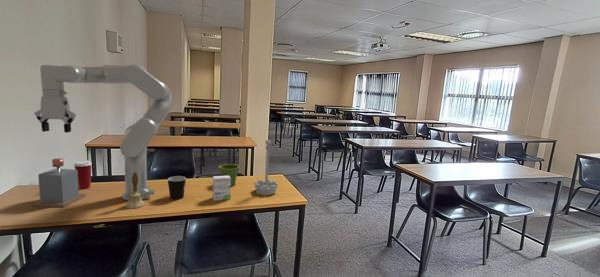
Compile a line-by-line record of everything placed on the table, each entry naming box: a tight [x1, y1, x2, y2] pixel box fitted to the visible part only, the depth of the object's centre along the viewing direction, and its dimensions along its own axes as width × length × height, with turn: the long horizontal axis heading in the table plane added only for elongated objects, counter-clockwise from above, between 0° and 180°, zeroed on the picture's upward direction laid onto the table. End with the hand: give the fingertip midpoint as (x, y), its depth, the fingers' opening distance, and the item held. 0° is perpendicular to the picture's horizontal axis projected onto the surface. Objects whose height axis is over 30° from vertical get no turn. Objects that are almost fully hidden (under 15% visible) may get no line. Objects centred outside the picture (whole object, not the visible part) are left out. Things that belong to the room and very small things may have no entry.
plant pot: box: [218, 163, 240, 187], centre depth 177 cm, size 12×12×11 cm
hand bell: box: [124, 172, 146, 210], centre depth 138 cm, size 8×8×16 cm
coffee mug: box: [167, 175, 187, 201], centre depth 153 cm, size 12×9×10 cm
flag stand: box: [254, 139, 279, 196], centre depth 167 cm, size 13×13×30 cm
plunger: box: [51, 158, 65, 173], centre depth 138 cm, size 7×7×18 cm
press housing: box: [31, 168, 87, 208], centre depth 138 cm, size 14×14×14 cm
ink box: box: [212, 175, 232, 202], centre depth 154 cm, size 9×5×12 cm, turn 113°
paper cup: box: [73, 160, 93, 190], centre depth 157 cm, size 8×8×14 cm
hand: (56, 131), depth 134 cm, fingers open, 9 cm apart
